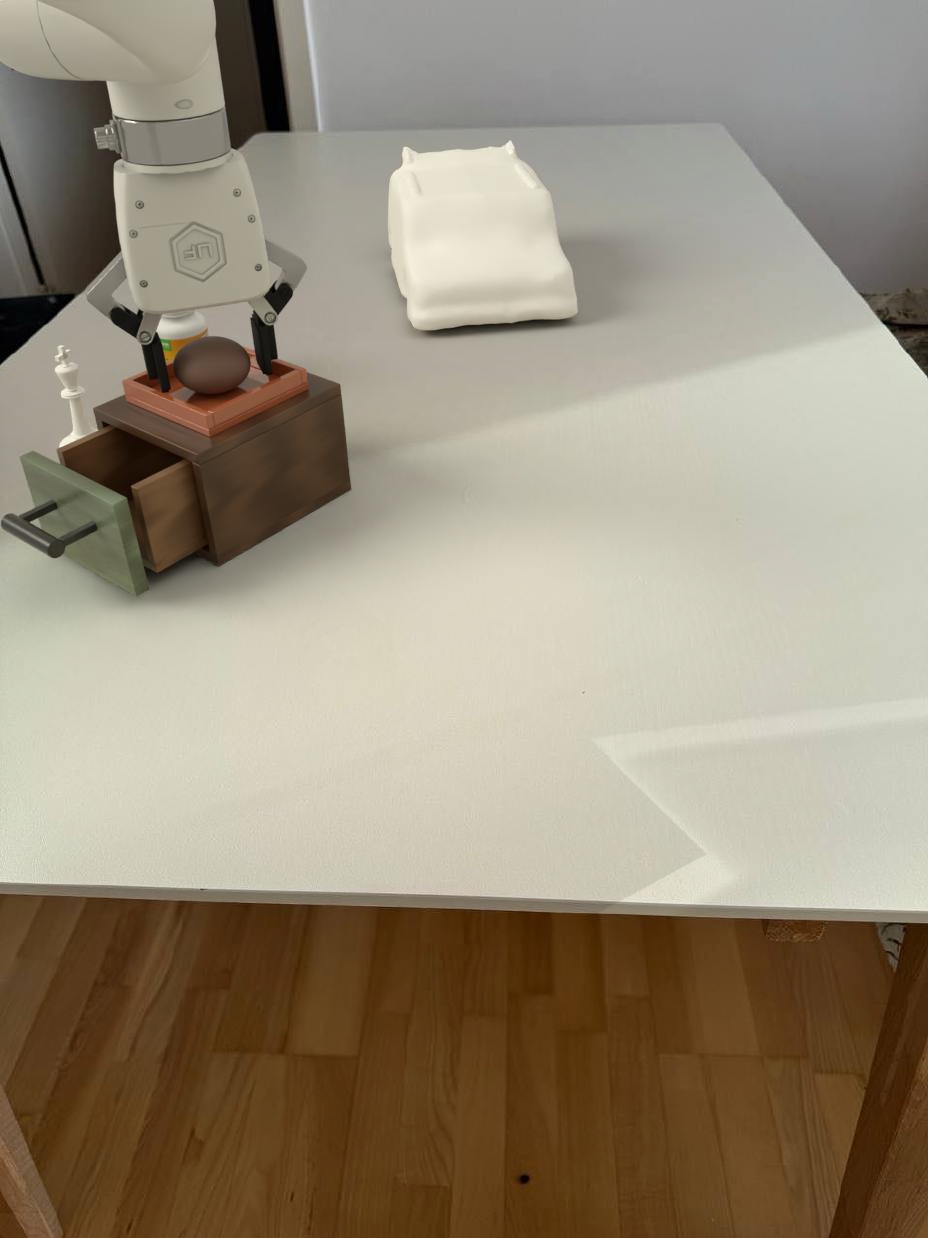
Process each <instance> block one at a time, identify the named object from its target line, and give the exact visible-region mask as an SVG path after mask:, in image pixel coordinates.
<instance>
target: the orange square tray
mask: <svg viewBox="0 0 928 1238" xmlns="http://www.w3.org/2000/svg"><path fill="white" fill-rule="evenodd" d="M241 346H242V347H243V348H244V349H245V350H246V351H247V353H248V355H249V357H250V362H251V367H250V371H249V374H248V376H247V377H246V379H245V380H244V381H243V382H242V383H241V384H240V385H239V386H237V387H236V388H234V389H232V390H230V391H227V392H224V393H219V394H203V393H198V392H195V391H192V390H190V389H188V388H186V387H185V386H183V385H182V384H181V383H180V382H179V381H178V379H177V378H176V376H175V374H174V370H173V362H174V359H172V360H170V361H168V362H166V366H167V371H168V376H169V381H170V386H171V390H169V392H166V393H162V391H161V388H160V385H159V382H158V379H154V380H149V377H148V374H147V370H146V369H145V370H144V371H142V372H139V373H136V374H135V375H132V376H130V377H128V378H125V379H123V380H122V381H121V383H122V388H123V391H124V394H125V396H126V401H127V402H129V403H132V404H134V405H136V406H139V407H141V408H143V409H146V410H148V411H150V412H153V413H155V414H157V415H160V416H162V417H164V418H166V419H169V420H171V421H173V422H176V423H178V424H180V425H183V426H185V427H187V428H190V429H192V430H194V431H197V432H199V433H201V434H204V435H206V436H208V437H212V436H214V435H216V434H218V433H220V432H222V431H224V430H226V429H228V428H230V427H232V426H234V425H236V424H238V423H240V422H243V421H245V420H247V419H249V418H251V417H253V416H255V415H257V414H259V413H261V412H263V411H265V410H267V409H269V408H271V407H273V406H275V405H277V404H279V403H281V402H283V401H286V400H288V399H290V398H292V397H294V396H296V395H298V394H300V393H302V392H304V391H306V390H308V389H309V388H308V383H307V382H308V380H307V372H308V371H307V368H306V367H303V366H300V365H297V364H294V363H291V362H288V361H285V360H283V359H280V358H278V359H275V360H271V363H272V370H273V375H267V376H266V374H263V373H262V371H261V369H260V367H259V366H258V364H257V361H256V356H255V349H252V348H249V347H246V346H243V345H241Z"/></svg>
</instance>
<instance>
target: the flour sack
mask: <svg viewBox="0 0 928 1238" xmlns="http://www.w3.org/2000/svg"><path fill="white" fill-rule="evenodd" d="M401 157H402V165H401V166H400V167H399V168H397V169H395V170H394V171H393V172H392V174H391V176H390V178H389V184H388V202H387V203H388V204H387V211H388V212H387V231H388V233H387V234H388V244H389V247H390V249H391V248H392V249H391V261H390V262H391V264H392V267H393V270H394V274H395V278H396V281H397V284H398V288H399V292H400V294H401V296H402V297H404V298H405V300H406V315H407V319H408V320H409V321H410V322H411V325H412V327H413V329H415V330H417V331H438V330H443V329H452V328H457V327H463V326H481V325H491V324H493V325H497V324H514V323H517V322H525V321H532V320H565V319H570V318H572V317H574V316H576V315H577V314H578V311H579V308H578V298H577V292H576V287H575V280H574V279H575V277H574V271H573V268H572V266H571V263H570V261H569V260H568V258H567V256H566V255H565V253H564V251H563V249H562V246H561V243H560V239H559V233H558V228H557V221H556V214H555V209H554V203H553V198H552V195H551V193H550V191H549V190H548V189H547V188H546V187H545V185H544V184H543V183H542V181H541V180H540V178H539V177H538V175H537V174H536V172H535V171H534V169H532V167H531V166H530V165H529V164H528V163H527V162H525V161H524V160H521V158H519V157H518V155H517V151H516V148H515V146H514V143H513V142H512V140H511V139H510V140H509V141H508V142H507V143H505V144H504V145H502V146H501V147H500V146H491V145H488V147H483V148H481V147H480V148H476V149H461V148H455V149H447V150H441V151H429V152H428V151H427V152H422V153H420V152H417V151H416V150H412V149H411V148H409V147H408V146H403V148H402V153H401Z"/></svg>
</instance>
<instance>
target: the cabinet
mask: <svg viewBox="0 0 928 1238" xmlns="http://www.w3.org/2000/svg"><path fill="white" fill-rule="evenodd" d="M306 372H307V380H308V382H307V383H308V388H309V389H308V390H306V391H304V392H302V393H300V394H298V395H296V396H294V397H292V398H290V399H288V400H286V401H283V402H281V403H279V404H277V405H275V406H273V407H271V408H269V409H267V410H265V411H263V412H261V413H259V414H257V415H255V416H253V417H251V418H249V419H247V420H245V421H243V422H240V423H238V424H236V425H234V426H232V427H230V428H228V429H226V430H224V431H222V432H220V433H218V434H216V435H214V436H212V437H208V436H206V435H204V434H201V433H199V432H197V431H194V430H192V429H190V428H187V427H185V426H183V425H180V424H178V423H176V422H173V421H171V420H169V419H166V418H164V417H162V416H160V415H157V414H155V413H153V412H150V411H148V410H146V409H143V408H141V407H139V406H136V405H134V404H132V403H129V402H127V401H126V396H125V393H124V394H122V395H120V396H118V397H115V398H113V399H111V400H107V401H106V402H104V403H101V404H99V405H96V406H95V407H92V411H93V414H94V418H95V423H96V427H97V428H96V429H97V430H100V429H103V428H105V427H107V426H109V425H112V426H114V427H116V428H119V429H121V430H123V431H125V432H127V433H130V434H132V435H134V436H136V437H139V438H141V439H143V440H145V441H147V442H150V443H152V444H154V445H156V446H158V447H161V448H163V449H165V450H167V451H169V452H172V453H174V454H176V455H178V456H181V457H183V458H185V459H187V460H189V461H192V465H193V470H194V475H195V480H196V485H197V490H198V495H199V500H200V505H201V510H202V515H203V520H204V525H205V530H206V535H207V540H208V545H206V546H204V547H202V548H200V549H199V550H197V551H195V552H193V553H192V554H195V555H197V556H199V557H200V558H202V559H204V560H207V561H208V562H211V563H212V564H214V565H215V566H217V567H220V566H222V565H224V564H226V563H228V562H230V560H232V559H235V558H236V557H238V556H240V555H242V553H245V552H246V551H248V550H250V549H251V548H253V547H255V546H257V545H258V544H260V543H261V542H263V541H265V540H267V539H268V538H271V537H272V536H273V535H275V534H276V533H279V532H280V531H282V530H283V529H285V528H287V527H289V526H291V525H292V524H294V523H296V522H297V521H300V520H301V519H303V518H304V517H306V516H308V515H310V514H311V513H313V512H314V511H316V510H318V509H319V508H321V507H323V506H325V505H327V504H329V503H330V502H331V501H333V500H335V499H337V498H338V497H340V496H342V495H344V494H345V493H347V492H349V491H350V490H352V482H351V473H350V472H351V471H350V463H349V454H348V443H347V434H346V425H345V423H346V422H345V414H344V404H343V395H342V388H341V387H342V385H341V383H339V382H336V381H334V380H331V379H328V378H326V377H322V376H319V375H316V374H314V373H311V372H308V371H306Z"/></svg>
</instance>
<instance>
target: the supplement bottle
mask: <svg viewBox="0 0 928 1238" xmlns="http://www.w3.org/2000/svg"><path fill="white" fill-rule="evenodd" d="M156 332H158V335H159V337H160V340H161V343H162V346H163V351H164V356H165V361H166V362H168V361H170V360H172V359H174V358H175V356H176V354H177V352H178V351H179V350H180V349H181V348H182V347H183V346H184V345H185V344H187V343H189V342H190V341H192V340H195V339H198V338H201V337H207V336H210V335H209V330H208V324H207V321H206V318H205V316H204V315H203V314H202V313H200V312H199V311H196V310H189V311H182V312H175V313H167V314H162V316H161V319H160V322H159V325H158V327H157V330H156Z"/></svg>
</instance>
